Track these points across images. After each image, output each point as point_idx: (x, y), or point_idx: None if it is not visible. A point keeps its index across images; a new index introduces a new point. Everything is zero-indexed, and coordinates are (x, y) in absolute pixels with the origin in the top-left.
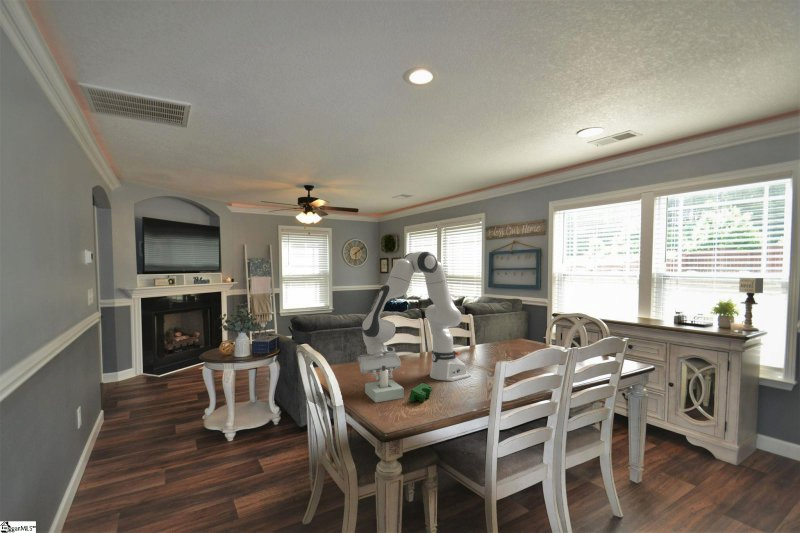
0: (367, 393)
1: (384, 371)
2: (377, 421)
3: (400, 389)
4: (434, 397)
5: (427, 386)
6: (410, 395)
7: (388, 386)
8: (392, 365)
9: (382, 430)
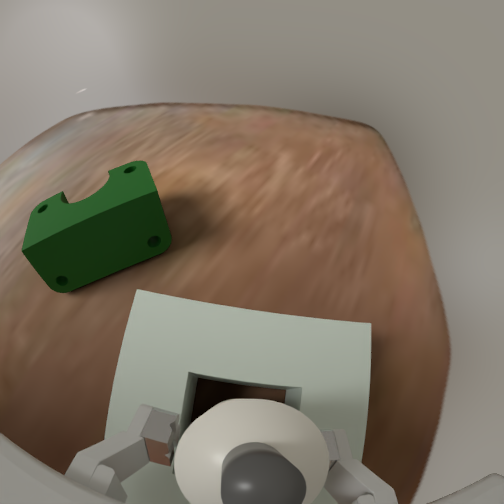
0: None
1: (280, 403)
2: (386, 178)
3: (165, 296)
4: None
5: (41, 216)
6: (165, 218)
7: None
8: (41, 476)
9: (381, 140)
